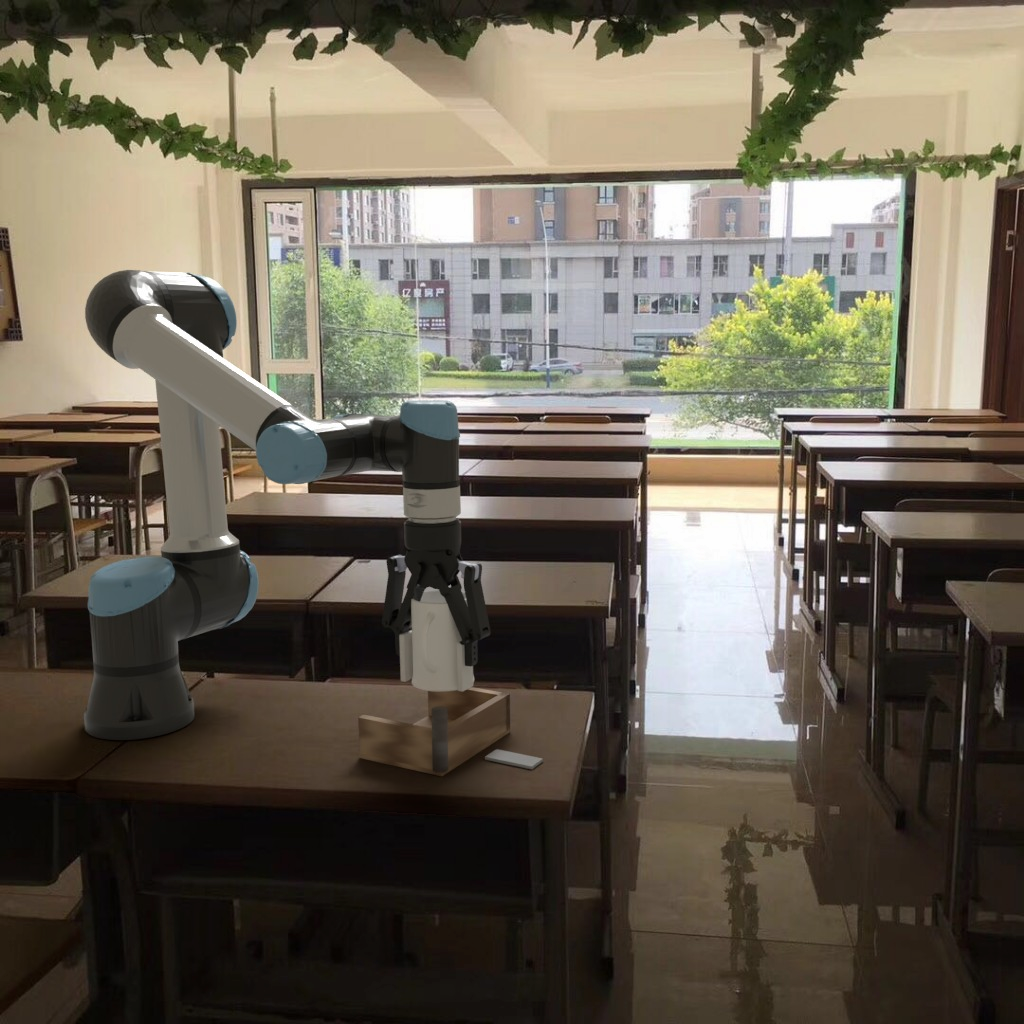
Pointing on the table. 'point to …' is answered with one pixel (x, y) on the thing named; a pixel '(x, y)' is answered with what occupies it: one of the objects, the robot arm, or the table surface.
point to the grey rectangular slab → (514, 759)
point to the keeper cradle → (438, 731)
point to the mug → (434, 644)
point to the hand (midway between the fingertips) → (436, 683)
